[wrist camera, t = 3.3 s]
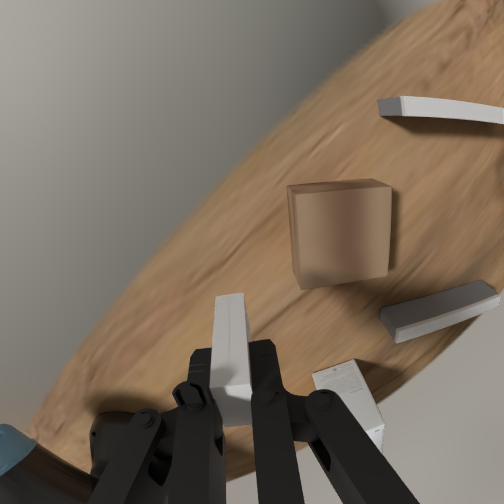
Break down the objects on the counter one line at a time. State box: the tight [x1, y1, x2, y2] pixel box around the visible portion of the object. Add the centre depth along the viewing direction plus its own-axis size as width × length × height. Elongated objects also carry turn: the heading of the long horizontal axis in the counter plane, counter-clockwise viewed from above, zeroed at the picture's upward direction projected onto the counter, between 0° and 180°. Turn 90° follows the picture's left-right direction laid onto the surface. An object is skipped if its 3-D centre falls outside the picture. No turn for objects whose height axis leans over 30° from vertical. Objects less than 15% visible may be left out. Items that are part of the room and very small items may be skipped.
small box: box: [312, 359, 385, 453], centre depth 31 cm, size 8×6×10 cm
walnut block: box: [287, 179, 392, 290], centre depth 25 cm, size 8×8×4 cm
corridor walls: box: [378, 96, 504, 343], centre depth 25 cm, size 16×23×4 cm
